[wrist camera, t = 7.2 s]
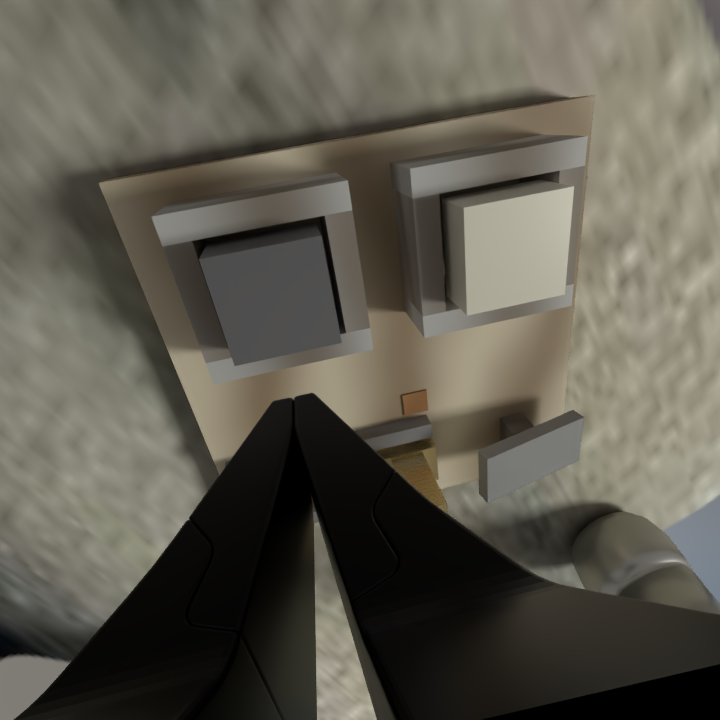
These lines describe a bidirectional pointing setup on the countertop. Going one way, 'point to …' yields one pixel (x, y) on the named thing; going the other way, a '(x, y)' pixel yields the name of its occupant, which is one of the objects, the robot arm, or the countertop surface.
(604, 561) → the plastic bottle
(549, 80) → the countertop surface
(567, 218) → the cream button
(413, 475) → the slider
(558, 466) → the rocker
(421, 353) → the panel
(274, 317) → the charcoal button
